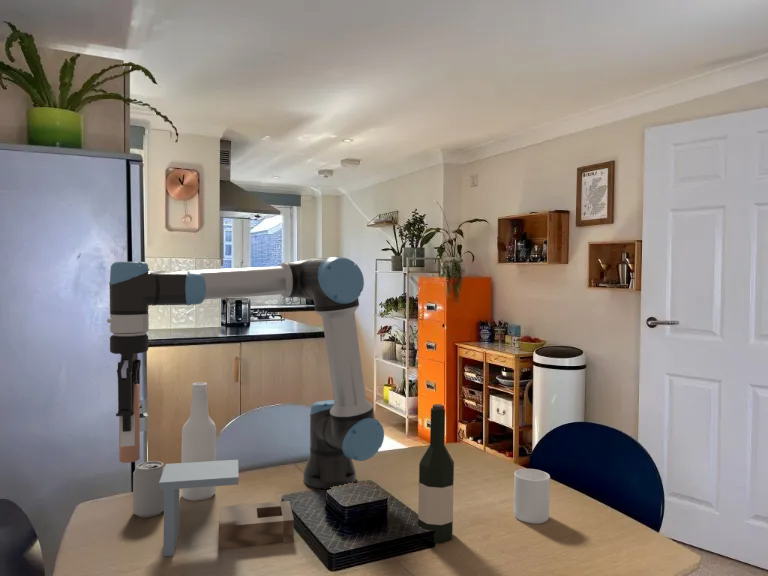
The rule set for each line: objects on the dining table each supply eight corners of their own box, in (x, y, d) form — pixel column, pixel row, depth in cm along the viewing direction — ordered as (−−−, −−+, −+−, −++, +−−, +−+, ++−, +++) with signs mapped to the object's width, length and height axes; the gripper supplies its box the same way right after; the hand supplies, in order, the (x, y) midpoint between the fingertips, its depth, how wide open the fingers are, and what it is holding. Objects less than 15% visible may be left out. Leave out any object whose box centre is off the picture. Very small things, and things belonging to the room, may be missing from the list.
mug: (534, 504, 150) (535, 463, 150) (555, 523, 138) (556, 479, 138) (503, 505, 148) (504, 464, 148) (521, 525, 136) (522, 481, 136)
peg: (141, 456, 124) (141, 383, 124) (138, 461, 121) (138, 386, 120) (121, 457, 123) (121, 384, 123) (117, 463, 120) (117, 387, 119)
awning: (237, 525, 134) (238, 459, 134) (237, 549, 122) (238, 477, 122) (165, 531, 130) (165, 463, 129) (158, 557, 118) (159, 482, 118)
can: (153, 520, 136) (154, 470, 135) (126, 517, 137) (126, 467, 137) (171, 508, 143) (172, 460, 143) (145, 505, 144) (145, 458, 144)
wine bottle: (443, 547, 125) (446, 411, 124) (410, 537, 129) (413, 406, 129) (459, 533, 132) (462, 404, 131) (427, 524, 136) (430, 399, 136)
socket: (288, 521, 136) (289, 500, 136) (293, 542, 126) (293, 519, 126) (219, 527, 132) (219, 506, 132) (218, 549, 122) (218, 526, 122)
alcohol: (222, 493, 153) (224, 382, 153) (197, 504, 146) (199, 387, 145) (199, 486, 158) (200, 379, 157) (173, 497, 150) (174, 384, 149)
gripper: (118, 330, 129) (118, 432, 129) (101, 338, 112) (101, 456, 113) (153, 329, 130) (153, 430, 131) (141, 337, 114) (142, 453, 115)
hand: (129, 442), depth 122 cm, fingers closed on peg, 4 cm apart
